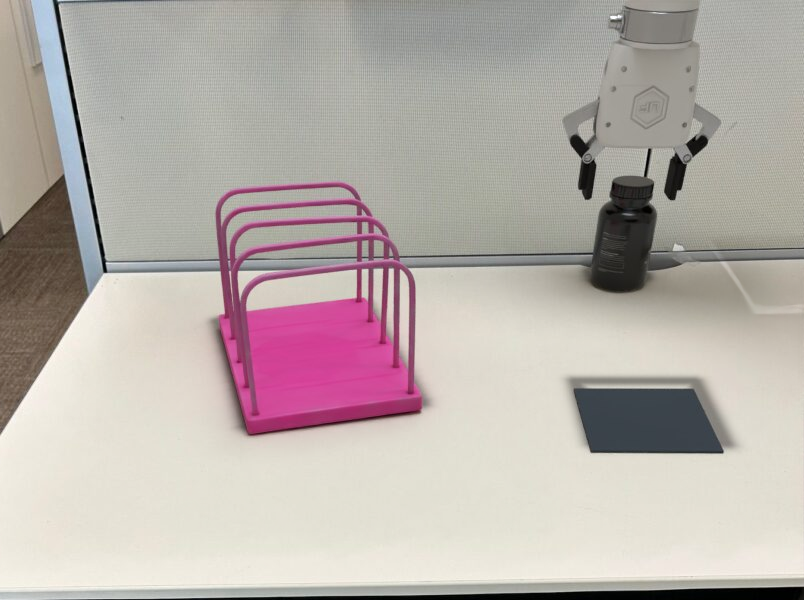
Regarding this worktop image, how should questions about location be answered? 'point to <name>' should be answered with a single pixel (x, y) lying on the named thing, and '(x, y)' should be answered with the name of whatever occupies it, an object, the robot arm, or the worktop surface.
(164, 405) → the worktop surface
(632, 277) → the supplement bottle
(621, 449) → the mat
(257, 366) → the file sorter
